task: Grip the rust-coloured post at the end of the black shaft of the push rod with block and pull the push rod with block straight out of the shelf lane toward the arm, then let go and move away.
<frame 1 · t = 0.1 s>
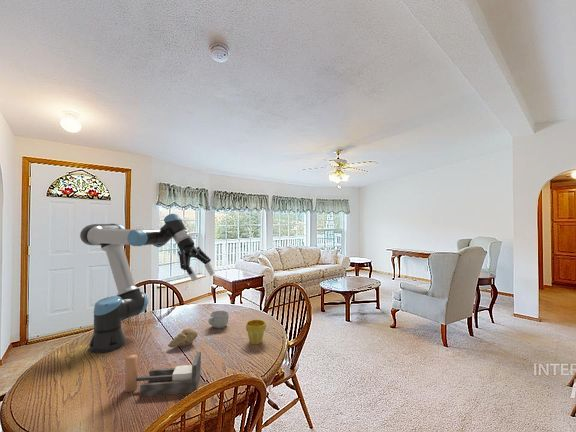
hand: (204, 277, 137), 36 cm above the table, tool tilted 35°, fingers open, 13 cm apart
plant pot: (255, 341, 147), on the table
seashell: (182, 346, 141), on the table
shelf lane: (170, 385, 108), on the table
push rod with block: (183, 385, 108), on the table
teacup: (217, 327, 166), on the table
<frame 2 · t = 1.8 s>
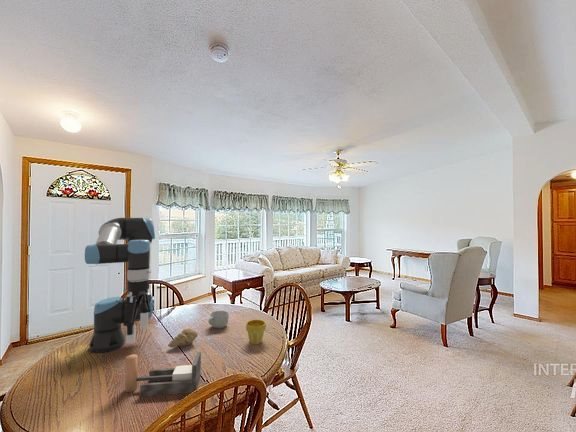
hand: (137, 335, 107), 19 cm above the table, tool pointing down, fingers open, 13 cm apart
nothing on the table moved.
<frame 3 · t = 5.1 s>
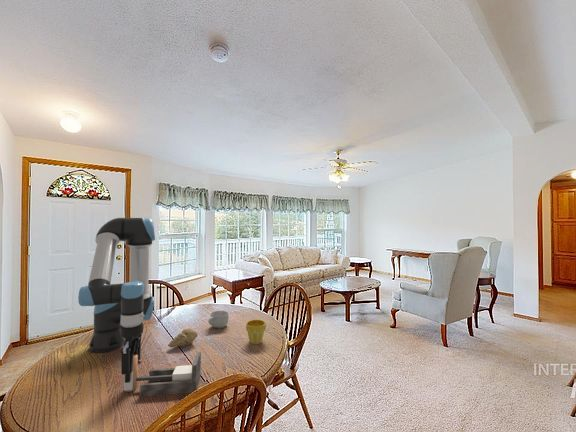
hand: (131, 385, 106), 1 cm above the table, tool pointing down, fingers closed on push rod with block, 4 cm apart
push rod with block: (183, 385, 108), on the table, touching gripper
everything else where it was.
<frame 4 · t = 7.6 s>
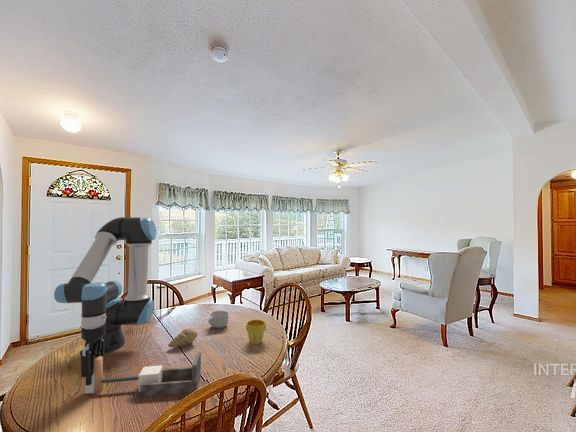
hand: (93, 388, 104), 1 cm above the table, tool pointing down, fingers closed on push rod with block, 4 cm apart
push rod with block: (150, 385, 108), on the table, touching gripper
everything else where it was.
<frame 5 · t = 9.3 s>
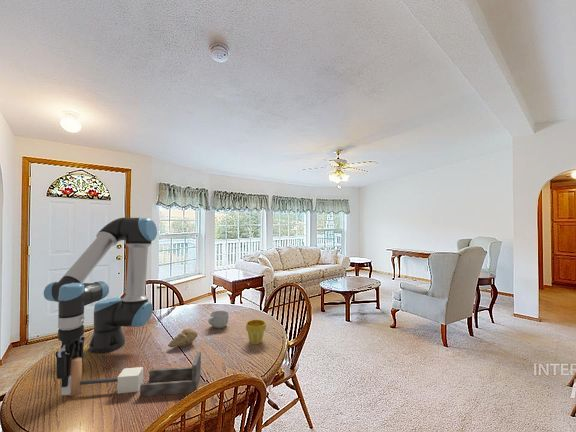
hand: (70, 390, 103), 1 cm above the table, tool pointing down, fingers closed on push rod with block, 4 cm apart
push rod with block: (130, 387, 106), on the table, touching gripper
everything else where it was.
when the fingers open (1 cm above the table, at t = 10.3 s): push rod with block stays where it is, on the table.
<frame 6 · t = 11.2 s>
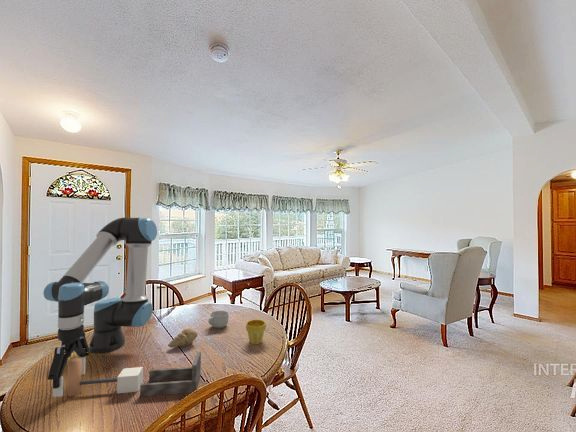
hand: (70, 384, 103), 3 cm above the table, tool pointing down, fingers open, 13 cm apart
push rod with block: (130, 387, 106), on the table
everything else where it was.
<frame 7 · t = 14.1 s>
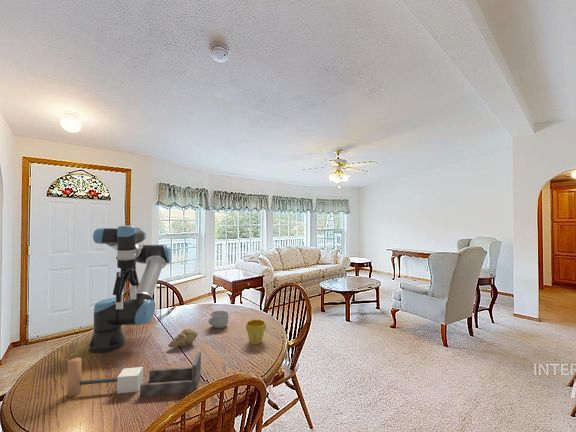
hand: (126, 303, 131), 24 cm above the table, tool pointing down, fingers open, 13 cm apart
nothing on the table moved.
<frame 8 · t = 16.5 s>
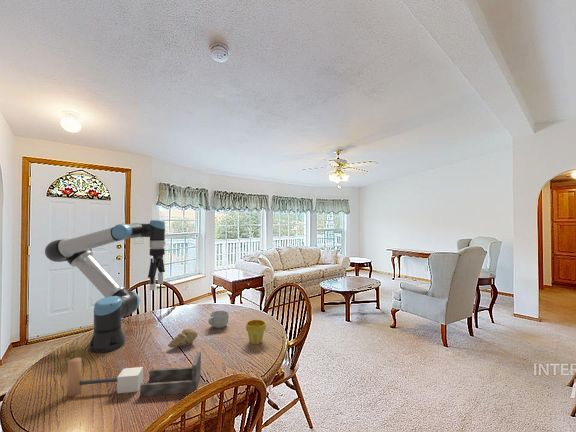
hand: (156, 286, 154), 27 cm above the table, tool pointing down, fingers open, 13 cm apart
nothing on the table moved.
at the end: push rod with block inside the target area (4.5 cm from its centre), on the table; push rod with block tilted 0°; the gripper is holding nothing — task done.
